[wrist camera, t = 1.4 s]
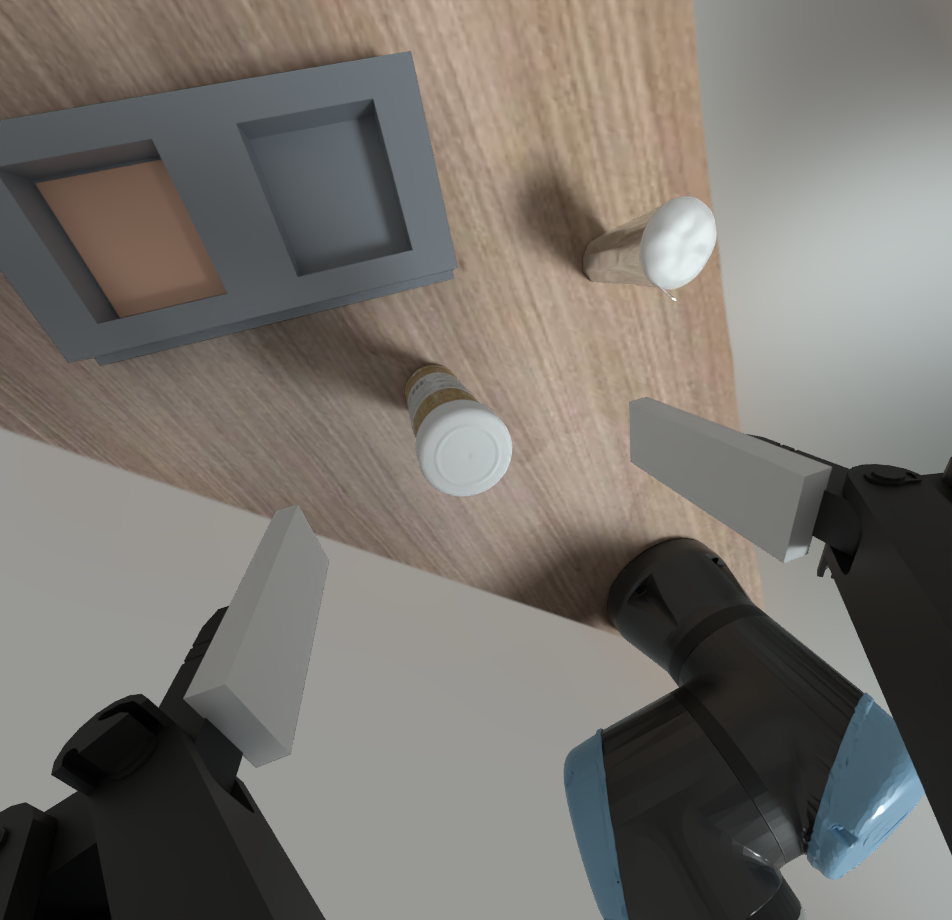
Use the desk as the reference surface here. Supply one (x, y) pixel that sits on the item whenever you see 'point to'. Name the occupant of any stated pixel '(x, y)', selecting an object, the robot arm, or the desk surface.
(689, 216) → the milkshake
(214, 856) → the robot arm
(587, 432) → the desk surface
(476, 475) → the sprinkles bottle
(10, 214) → the two-pocket grey tray
